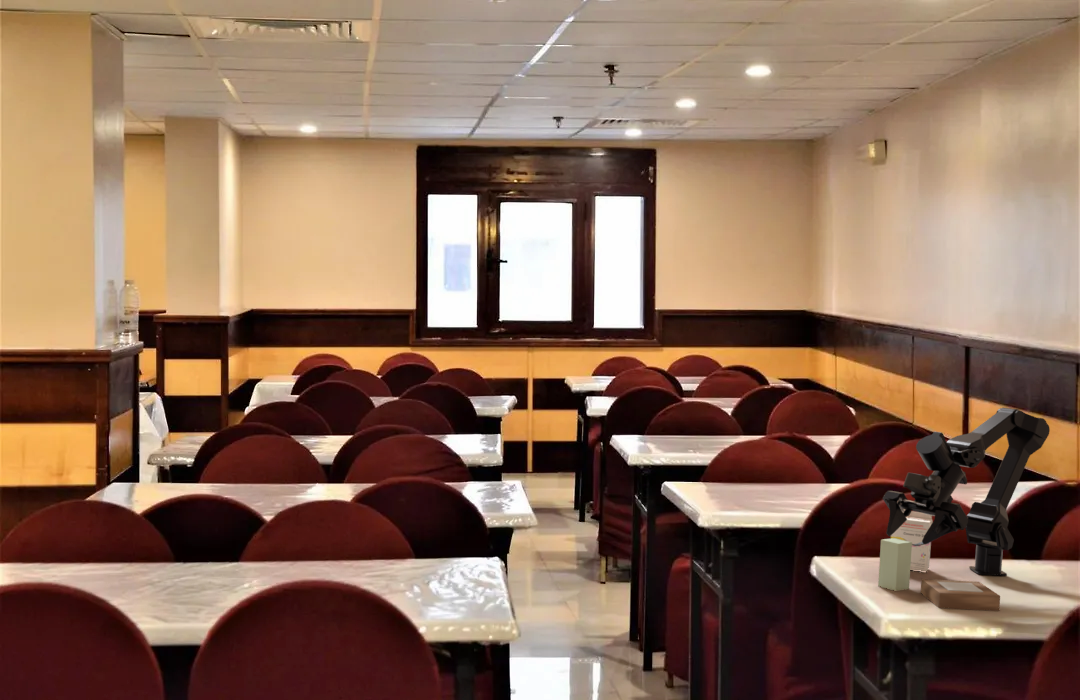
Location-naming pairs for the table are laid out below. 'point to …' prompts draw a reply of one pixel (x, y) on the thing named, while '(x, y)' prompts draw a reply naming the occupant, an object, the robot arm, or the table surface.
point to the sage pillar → (895, 564)
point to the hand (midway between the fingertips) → (905, 538)
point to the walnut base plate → (960, 594)
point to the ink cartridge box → (916, 538)
